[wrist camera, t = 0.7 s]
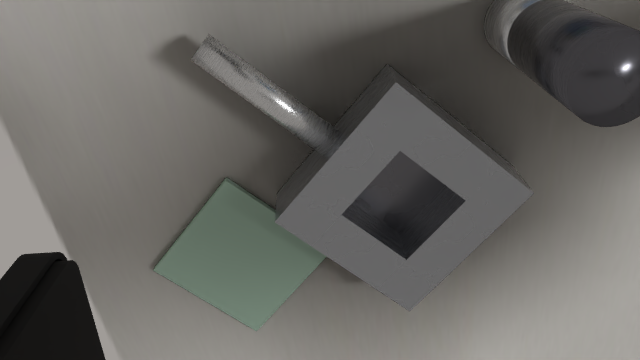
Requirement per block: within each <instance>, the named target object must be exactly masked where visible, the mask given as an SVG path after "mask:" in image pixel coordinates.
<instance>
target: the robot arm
mask: <svg viewBox="0 0 640 360" xmlns="http://www.w3.org/2000/svg"><path fill="white" fill-rule="evenodd" d="M0 360H105V357H104V353H103V350H102V347H101V343H100V340H99V336H98V332H97V329H96V325H95V322H94V319H93V315H92V312H91V308H90V305H89V301H88V298H87V294H86V291H85V288H84V284H83V281H82V277H81V274H80V270H79V267H78V265H77V264H76V262H75V261H73V260H70V261H67V258H66V257H65V256H64V254H62V253H60V252H52V253H35V254H24V255H21V256H20V257H19V258H17V260H16V261H15V262H14V263H13V265H12V266H11V267H10V268H9V270H8V271H7V272H6V273H5V274H4V276H3V277H2V278H1V280H0Z"/></svg>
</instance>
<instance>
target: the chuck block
mask: <svg viewBox="0 0 640 360" xmlns="http://www.w3.org/2000/svg"><path fill="white" fill-rule="evenodd" d="M191 61H192V62H194V63H195V64H197V65H198V66H199V67H201V68H202V69H204V70H205V71H206V72H208V73H209V74H210V75H212V76H213V77H215V78H216V79H217V80H219V81H220V82H222V83H223V84H224V85H226V86H227V87H229V88H230V89H231V90H233V91H234V92H235V93H237V94H238V95H240V96H241V97H242V98H244V99H245V100H247V101H248V102H249V103H251V104H252V105H253V106H255V107H256V108H258V109H259V110H260V111H262V112H263V113H265V114H266V115H267V116H269V117H270V118H271V119H273V120H274V121H276V122H277V123H278V124H280V125H281V126H283V127H284V128H285V129H287V130H288V131H289V132H291V133H292V134H294V135H295V136H296V137H298V138H299V139H301V140H302V141H303V142H305V143H306V144H307V145H309V146H310V147H312V148H313V149H314V150H313V152H312V153H311V154H310V155H309V156H308V157H307V159H306V160H305V161H304V162H303V163H302V165H301V166H300V167H299V168H298V169H297V170H296V172H295V173H294V174H293V175H292V176H291V178H290V179H289V180H288V181H287V182H286V183H285V185H284V186H283V187H282V188H281V189H280V190H279V192H278V193H277V201H276V212H275V223H277V224H278V225H280V226H281V227H283V228H284V229H286V230H287V231H289V232H290V233H292V234H293V235H295V236H296V237H298V238H299V239H301V240H302V241H304V242H305V243H307V244H308V245H310V246H311V247H313V248H314V249H316V250H317V251H319V252H320V253H322V254H324V255H325V256H327V257H328V258H330V259H331V260H333V261H334V262H336V263H337V264H339V265H340V266H342V267H343V268H345V269H346V270H348V271H349V272H351V273H352V274H354V275H355V276H357V277H358V278H360V279H361V280H363V281H364V282H366V283H367V284H369V285H370V286H372V287H373V288H375V289H377V290H378V291H380V292H381V293H383V294H384V295H386V296H387V297H389V298H390V299H392V300H393V301H395V302H396V303H398V304H399V305H401V306H402V307H404V308H405V309H407V310H408V311H411V310H412V309H413V308H414V307H415V306H416V305H417V304H418V303H419V302H420V301H421V300H422V299H423V298H424V297H425V296H426V295H427V294H429V293H430V292H431V291H432V290H433V289H434V288H435V287H436V286H437V285H438V284H439V283H440V282H441V281H442V280H443V279H444V278H445V277H446V276H447V275H449V274H450V273H451V272H452V271H453V270H454V269H455V268H456V267H457V266H458V265H459V264H460V263H461V262H462V261H463V260H464V259H465V258H466V257H467V256H469V255H470V254H471V253H472V252H473V251H474V250H475V249H476V248H477V247H478V246H479V245H480V244H481V243H482V242H483V241H484V240H485V239H486V238H487V237H489V236H490V235H491V234H492V233H493V232H494V231H495V230H496V229H497V228H498V227H499V226H500V225H501V224H502V223H503V222H504V221H505V220H506V219H507V218H509V217H510V216H511V215H512V214H513V213H514V212H515V211H516V210H517V209H518V208H519V207H520V206H521V205H522V204H523V203H524V202H525V201H526V200H527V199H528V198H530V197H531V196H532V195H533V194H534V192H533V191H532V190H531V189H530V187H529V186H528V185H527V183H526V182H525V181H524V180H523V178H522V177H521V176H520V174H519V173H518V172H517V170H516V169H515V168H514V167H513V166H512V165H511V164H510V163H509V162H507V161H506V160H505V159H504V158H502V157H501V156H500V155H499V154H497V153H496V152H495V151H494V150H493V149H491V148H490V147H489V146H488V145H486V144H485V143H484V142H483V141H481V140H480V139H479V138H478V137H477V136H475V135H474V134H473V133H472V132H470V131H469V130H468V129H467V128H465V127H464V126H463V125H462V124H460V123H459V122H458V121H457V120H456V119H454V118H453V117H452V116H451V115H449V114H448V113H447V112H446V111H444V110H443V109H442V108H441V107H440V106H438V105H437V104H436V103H435V102H433V101H432V100H431V99H430V98H428V97H427V96H426V95H425V94H424V93H422V92H421V91H420V90H419V89H417V88H416V87H415V86H414V85H412V84H411V83H410V82H409V81H408V80H406V79H405V78H404V77H403V76H401V75H400V74H399V73H398V72H396V71H395V70H394V69H393V68H391V67H390V66H389V65H388V64H386V66H385V67H384V68H383V69H382V70H381V72H380V73H379V74H378V75H377V76H376V77H375V79H374V80H373V81H372V82H371V83H370V84H369V86H368V87H367V88H366V89H365V90H364V92H363V93H362V94H361V95H360V96H359V97H358V99H357V100H356V101H355V102H354V103H353V104H352V106H351V107H350V108H349V109H348V110H347V112H346V113H345V114H344V115H343V116H342V117H341V119H340V120H339V121H338V122H337V123H336V125H335V126H334V127H333V126H332V125H330V124H329V123H328V122H326V121H325V120H324V119H322V118H321V117H319V116H318V115H317V114H315V113H314V112H313V111H311V110H310V109H309V108H307V107H306V106H305V105H303V104H302V103H301V102H299V101H298V100H297V99H295V98H294V97H293V96H291V95H290V94H289V93H287V92H286V91H285V90H283V89H282V88H281V87H279V86H278V85H277V84H275V83H274V82H272V81H271V80H270V79H268V78H267V77H266V76H264V75H263V74H262V73H260V72H259V71H258V70H256V69H255V68H254V67H252V66H251V65H250V64H248V63H247V62H246V61H244V60H243V59H242V58H240V57H239V56H238V55H236V54H235V53H234V52H232V51H231V50H229V49H228V48H227V47H225V46H224V45H223V44H221V43H220V42H219V41H217V40H216V39H215V38H213V37H212V36H211V35H208V36H207V37H206V39H205V40H204V42H203V43H202V44H201V46H200V47H199V49H198V50H197V52H196V53H195V54H194V56H193V57H192V59H191Z"/></svg>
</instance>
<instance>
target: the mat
mask: <svg viewBox="0 0 640 360" xmlns="http://www.w3.org/2000/svg"><path fill="white" fill-rule="evenodd" d="M275 212H276V210H275V209H273V208H272V207H270V206H269V205H267V204H266V203H264V202H263V201H261V200H260V199H258V198H257V197H255V196H254V195H252V194H251V193H249V192H248V191H246V190H245V189H243V188H242V187H240V186H239V185H237V184H236V183H234V182H233V181H231V180H230V179H228V178H227V177H226V178H225V180H224V181H223V182H222V183H221V185H220V186H219V187H218V188H217V190H216V191H215V192H214V193H213V195H212V196H211V197H210V198H209V200H208V201H207V202H206V203H205V205H204V206H203V207H202V208H201V210H200V211H199V212H198V213H197V215H196V216H195V217H194V219H193V220H192V221H191V222H190V224H189V225H188V226H187V227H186V229H185V230H184V231H183V232H182V234H181V235H180V236H179V237H178V239H177V240H176V241H175V242H174V244H173V245H172V246H171V247H170V249H169V250H168V251H167V252H166V254H165V255H164V256H163V257H162V259H161V260H160V261H159V262H158V264H157V265H156V266H155V268H154V270H153V271H155V272H157V273H158V274H160V275H162V276H163V277H165V278H167V279H168V280H170V281H172V282H174V283H175V284H177V285H179V286H180V287H182V288H184V289H185V290H187V291H189V292H191V293H192V294H194V295H196V296H197V297H199V298H201V299H202V300H204V301H206V302H208V303H209V304H211V305H213V306H214V307H216V308H218V309H220V310H221V311H223V312H225V313H226V314H228V315H230V316H231V317H233V318H235V319H237V320H238V321H240V322H242V323H243V324H245V325H247V326H248V327H250V328H252V329H254V330H255V331H257V330H258V329H259V328H260V327H261V326H262V325H263V324H264V323H265V322H266V321H267V320H268V319H269V318H270V317H271V315H272V314H273V313H274V312H275V311H276V310H277V309H278V308H279V307H280V306H281V305H282V304H283V303H284V302H285V300H286V299H287V298H288V297H289V296H290V295H291V294H292V293H293V292H294V291H295V290H296V289H297V288H298V287H299V285H300V284H301V283H302V282H303V281H304V280H305V279H306V278H307V277H308V276H309V275H310V274H311V273H312V272H313V271H314V269H315V268H316V267H317V266H318V265H319V264H320V263H321V262H322V261H323V260H324V259H325V258H326V257H327V256H325V255H324V254H322V253H320V252H319V251H317V250H316V249H314V248H313V247H311V246H310V245H308V244H307V243H305V242H304V241H302V240H301V239H299V238H298V237H296V236H295V235H293V234H292V233H290V232H289V231H287V230H286V229H284V228H283V227H281V226H280V225H278V224H277V223H275Z"/></svg>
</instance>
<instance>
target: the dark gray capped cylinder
mask: <svg viewBox="0 0 640 360" xmlns="http://www.w3.org/2000/svg"><path fill="white" fill-rule="evenodd" d="M484 32H485V36H486V39H487V41H488V43H489V44H490V45H491V46H492V47H493V49H495V50H496V51H497V52H498V53H500V54H501V55H502V56H503V57H505V58H506V59H507V60H508V61H510V62H511V63H512V64H513V65H515V66H516V67H517V68H518V69H520V70H521V71H522V72H523V73H525V74H526V75H527V76H528V77H529V78H531V79H532V80H533V81H534V82H536V83H537V84H538V85H539V86H541V87H542V88H543V89H544V90H546V91H547V92H548V93H549V94H551V95H552V96H553V97H554V98H556V99H557V100H558V101H559V102H561V103H562V104H563V105H564V106H566V107H567V108H568V109H569V110H570V111H572V112H573V113H574V114H575V115H577V116H578V117H579V118H581V119H582V120H583V121H585V122H587V123H589V124H592V125H595V126H600V127H612V126H618V125H621V124H625V123H627V122H630V121H632V120H634V119H635V118H637V117H639V116H640V31H638V30H636V29H633V28H631V27H628V26H626V25H623V24H621V23H618V22H616V21H613V20H611V19H608V18H606V17H603V16H601V15H598V14H596V13H593V12H591V11H588V10H586V9H583V8H581V7H578V6H576V5H573V4H571V3H568V2H566V1H564V0H494V1H493V2H492V4H491V5H490V7H489V9H488V11H487V13H486V16H485V20H484Z"/></svg>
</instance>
